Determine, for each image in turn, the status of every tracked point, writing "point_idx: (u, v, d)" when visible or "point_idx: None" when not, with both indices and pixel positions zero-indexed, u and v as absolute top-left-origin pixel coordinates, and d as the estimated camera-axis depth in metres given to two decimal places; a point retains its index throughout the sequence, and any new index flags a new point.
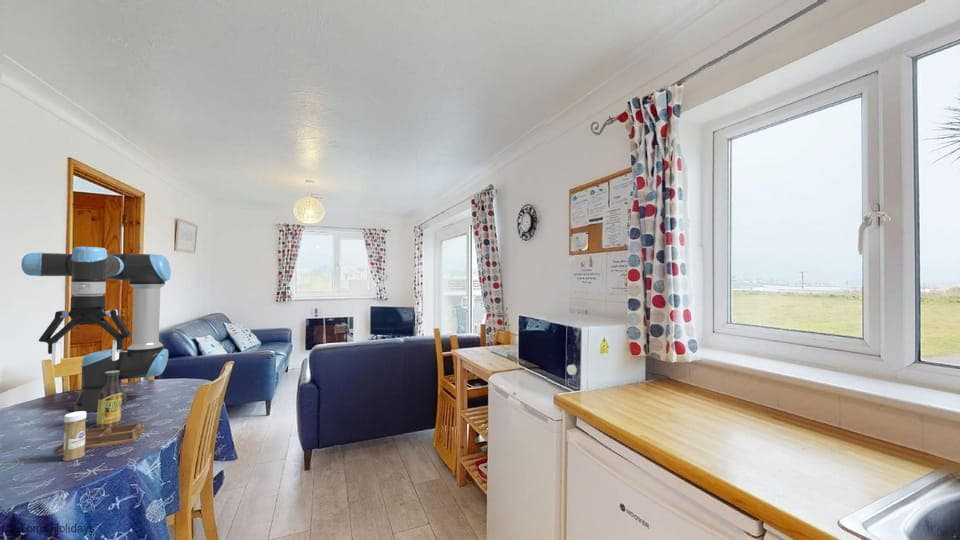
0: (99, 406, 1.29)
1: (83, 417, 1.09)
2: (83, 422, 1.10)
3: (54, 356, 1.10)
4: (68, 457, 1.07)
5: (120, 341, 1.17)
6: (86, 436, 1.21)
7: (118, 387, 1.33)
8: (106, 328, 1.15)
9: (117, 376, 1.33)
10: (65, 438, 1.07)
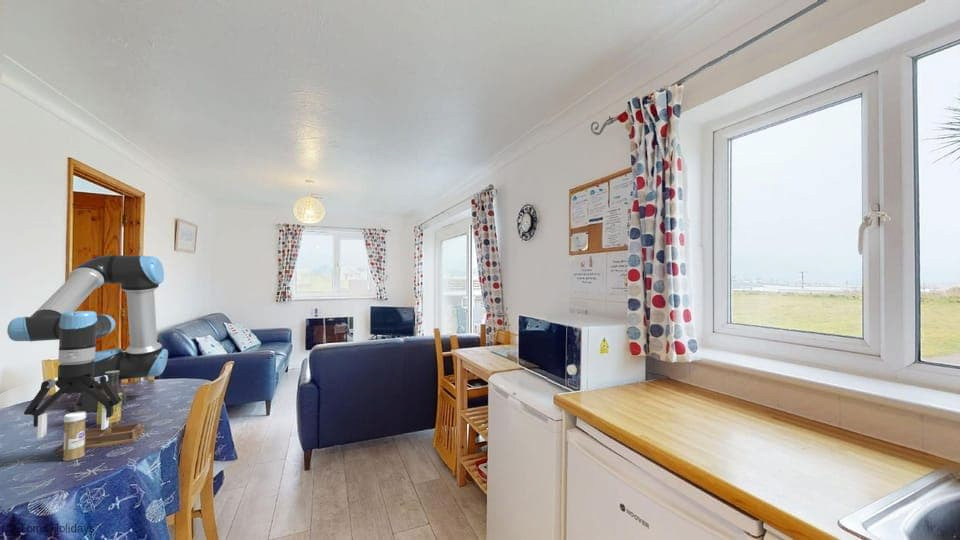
0: (99, 406, 1.29)
1: (83, 417, 1.09)
2: (83, 422, 1.10)
3: (40, 429, 1.05)
4: (68, 457, 1.07)
5: (110, 408, 1.12)
6: (86, 436, 1.21)
7: (118, 387, 1.33)
8: (95, 396, 1.10)
9: (117, 376, 1.33)
10: (65, 438, 1.07)
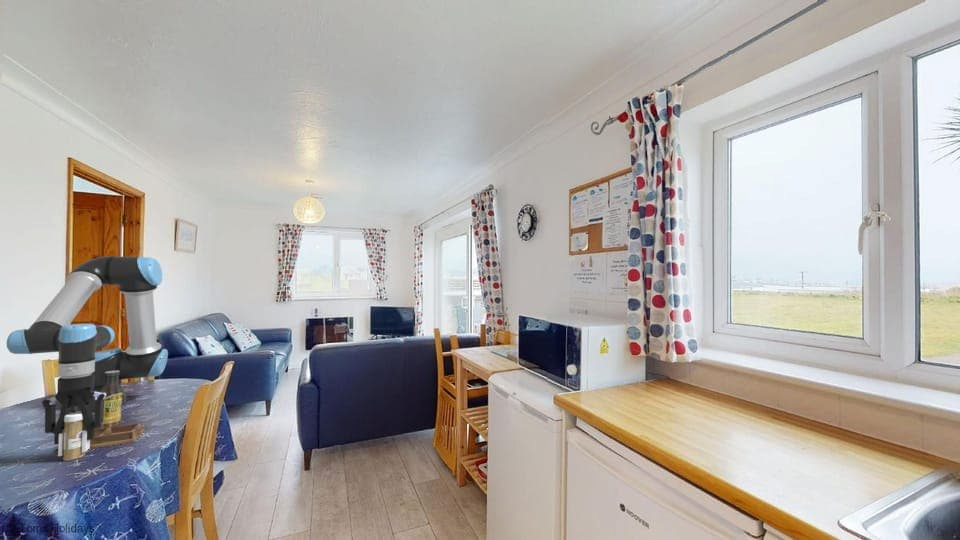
0: None
1: None
2: (83, 422, 1.10)
3: (61, 447, 1.07)
4: (68, 457, 1.07)
5: (91, 430, 1.10)
6: None
7: (118, 387, 1.33)
8: (84, 414, 1.09)
9: (117, 376, 1.33)
10: (65, 438, 1.07)
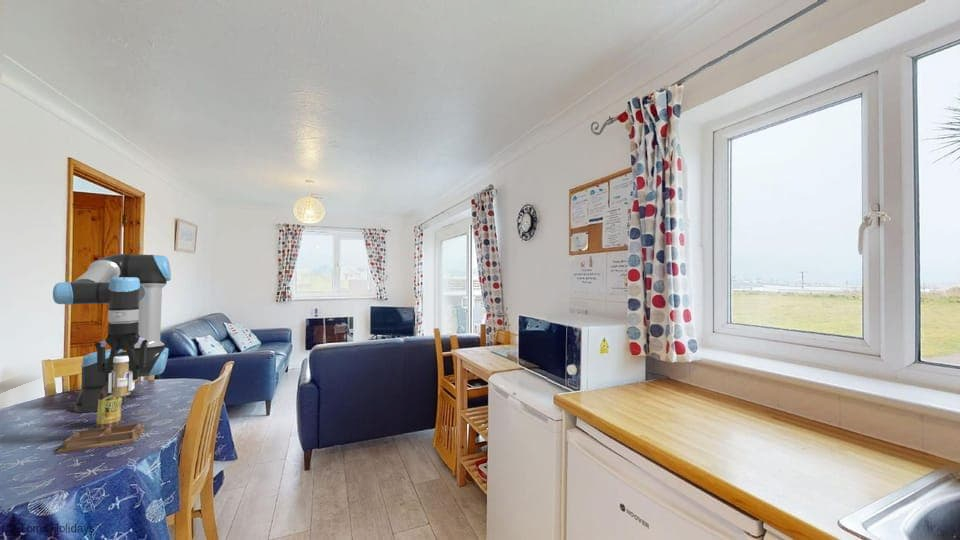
0: (99, 406, 1.29)
1: None
2: (129, 364, 1.23)
3: (110, 384, 1.20)
4: (117, 394, 1.20)
5: (136, 372, 1.24)
6: (86, 436, 1.21)
7: None
8: (130, 356, 1.23)
9: None
10: (114, 376, 1.20)
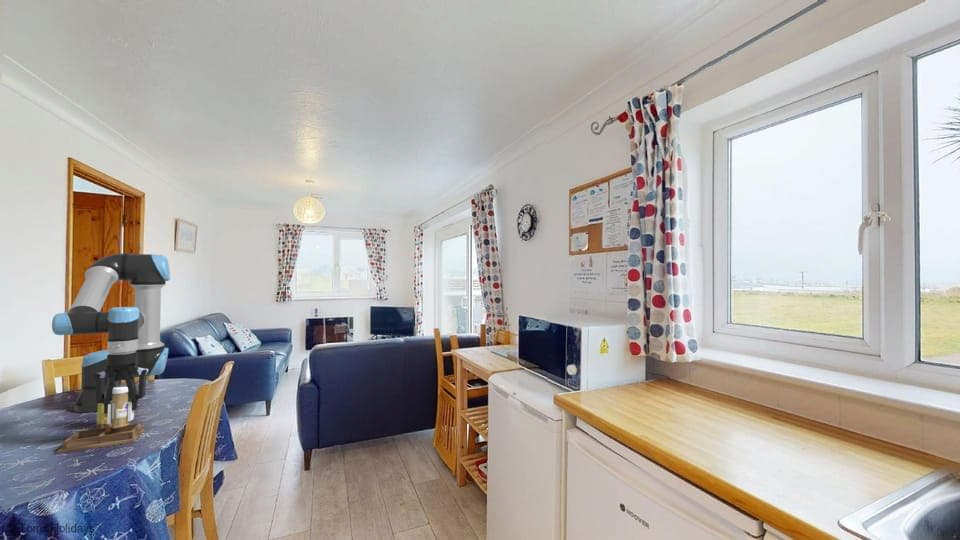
0: (99, 406, 1.29)
1: None
2: (128, 394, 1.23)
3: (109, 416, 1.20)
4: (116, 425, 1.20)
5: (135, 402, 1.23)
6: (86, 436, 1.21)
7: None
8: (129, 387, 1.22)
9: None
10: (113, 408, 1.20)
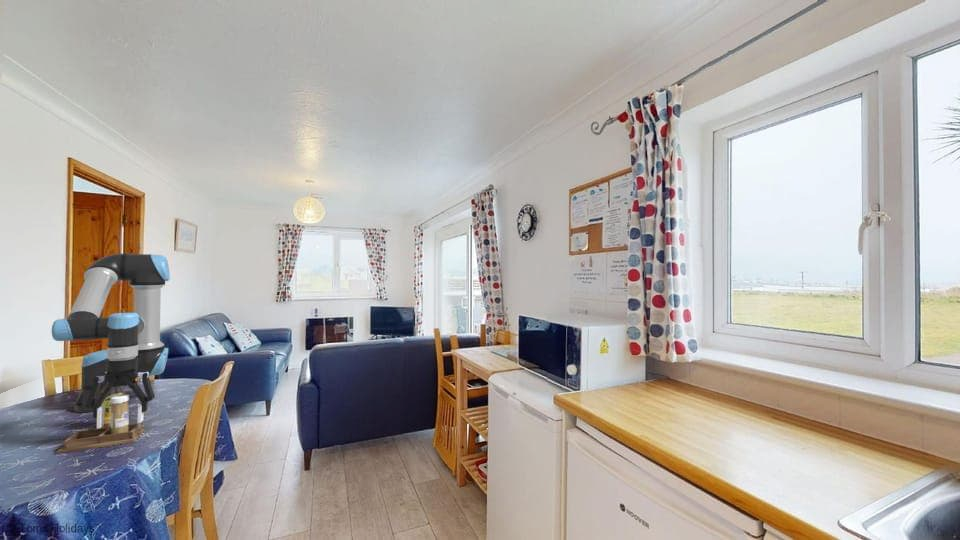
0: None
1: (127, 399, 1.22)
2: (127, 404, 1.23)
3: (99, 420, 1.19)
4: None
5: (145, 404, 1.25)
6: (86, 436, 1.21)
7: (118, 387, 1.33)
8: (135, 391, 1.23)
9: None
10: (112, 417, 1.20)
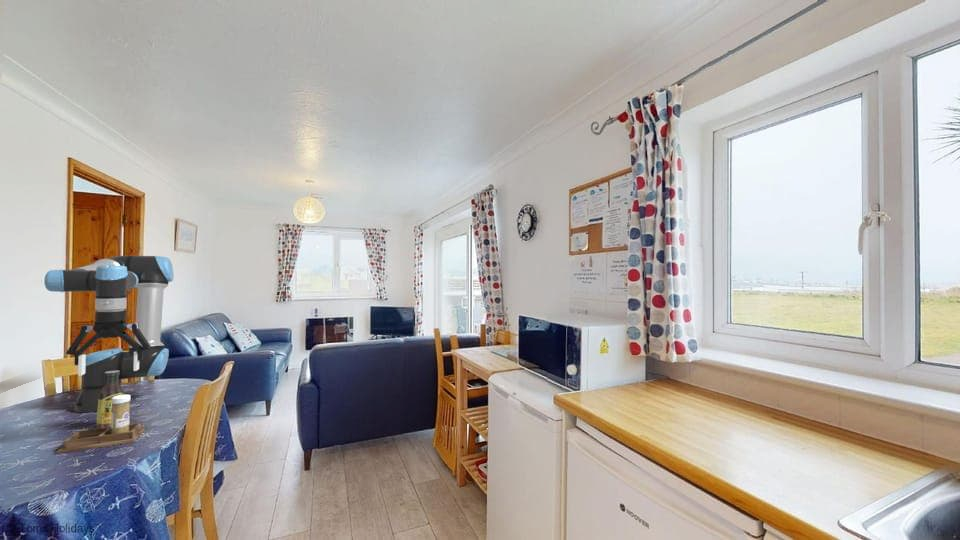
0: (99, 406, 1.29)
1: (128, 399, 1.22)
2: (128, 404, 1.23)
3: (80, 367, 1.18)
4: None
5: (140, 352, 1.26)
6: (86, 436, 1.21)
7: (118, 387, 1.33)
8: (128, 341, 1.24)
9: (117, 376, 1.33)
10: (113, 417, 1.20)
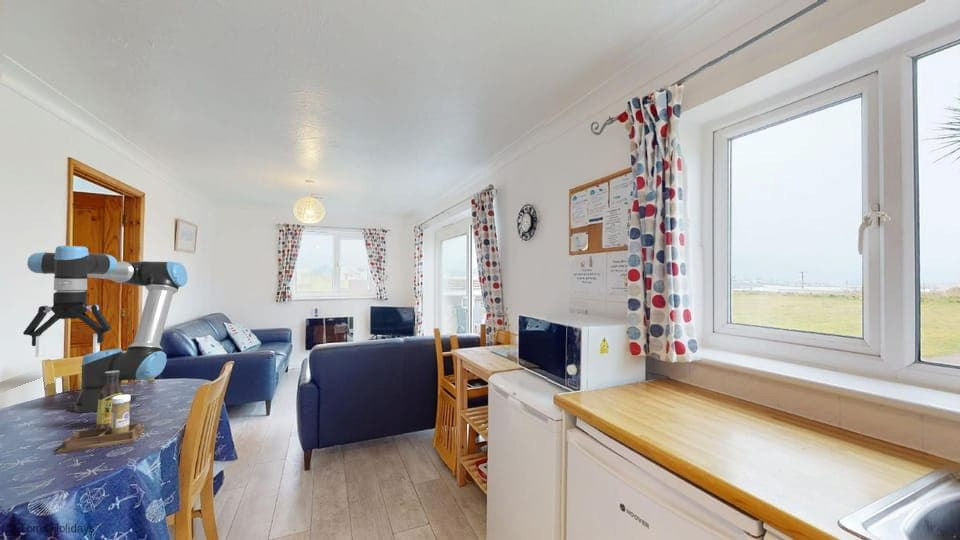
0: (99, 406, 1.29)
1: (128, 399, 1.22)
2: (128, 404, 1.23)
3: (37, 348, 1.17)
4: None
5: (101, 334, 1.25)
6: (86, 436, 1.21)
7: (118, 387, 1.33)
8: (87, 322, 1.23)
9: (117, 376, 1.33)
10: (113, 417, 1.20)
